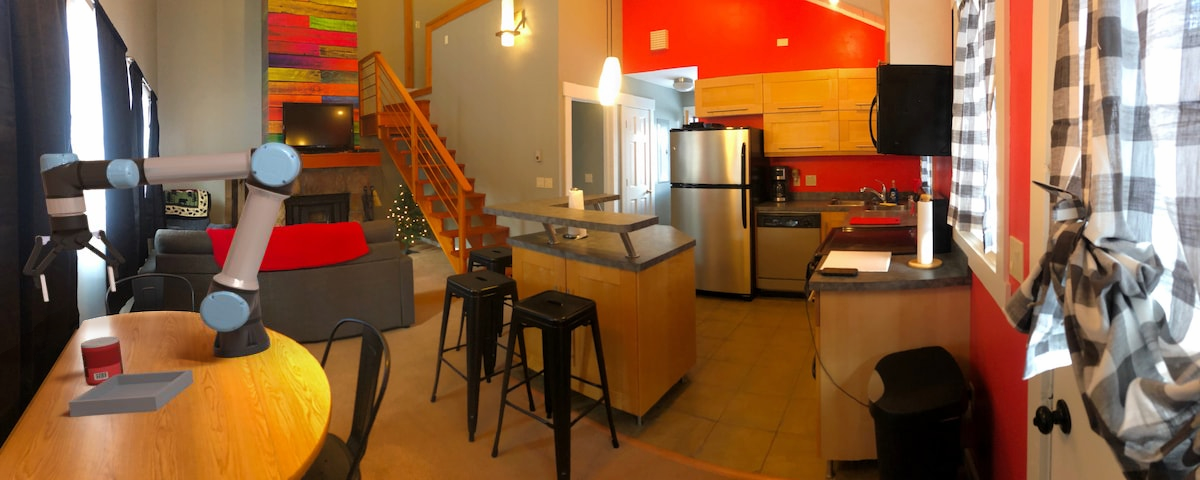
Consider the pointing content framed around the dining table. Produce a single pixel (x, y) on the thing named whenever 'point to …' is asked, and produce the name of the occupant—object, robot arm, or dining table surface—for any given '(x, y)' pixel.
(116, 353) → the canned food
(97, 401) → the tray
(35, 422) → the dining table surface
